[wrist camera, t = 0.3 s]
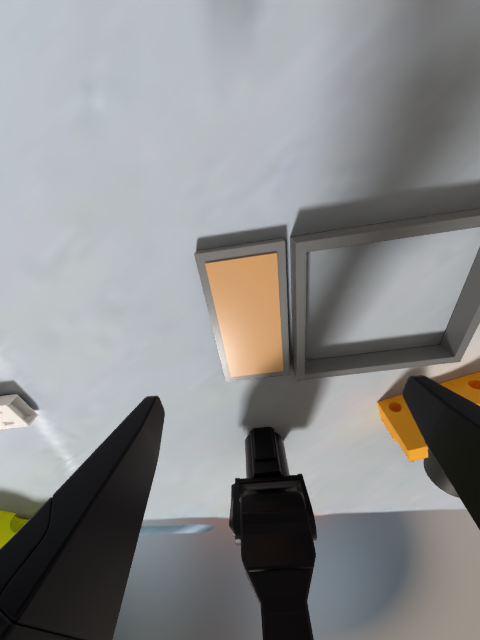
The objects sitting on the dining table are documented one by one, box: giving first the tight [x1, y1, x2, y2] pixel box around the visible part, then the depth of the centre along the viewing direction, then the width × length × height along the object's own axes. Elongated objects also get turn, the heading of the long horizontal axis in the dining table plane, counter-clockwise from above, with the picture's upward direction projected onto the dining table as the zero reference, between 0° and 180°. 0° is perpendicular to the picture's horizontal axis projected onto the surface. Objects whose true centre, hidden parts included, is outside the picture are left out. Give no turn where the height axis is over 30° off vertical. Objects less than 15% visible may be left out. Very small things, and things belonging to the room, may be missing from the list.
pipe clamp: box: [377, 372, 480, 461], centre depth 27 cm, size 12×4×6 cm, turn 116°
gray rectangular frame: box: [290, 208, 480, 381], centre depth 21 cm, size 15×17×2 cm
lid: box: [194, 238, 290, 382], centre depth 22 cm, size 15×7×1 cm, turn 8°
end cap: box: [424, 449, 460, 498], centre depth 31 cm, size 10×7×7 cm
